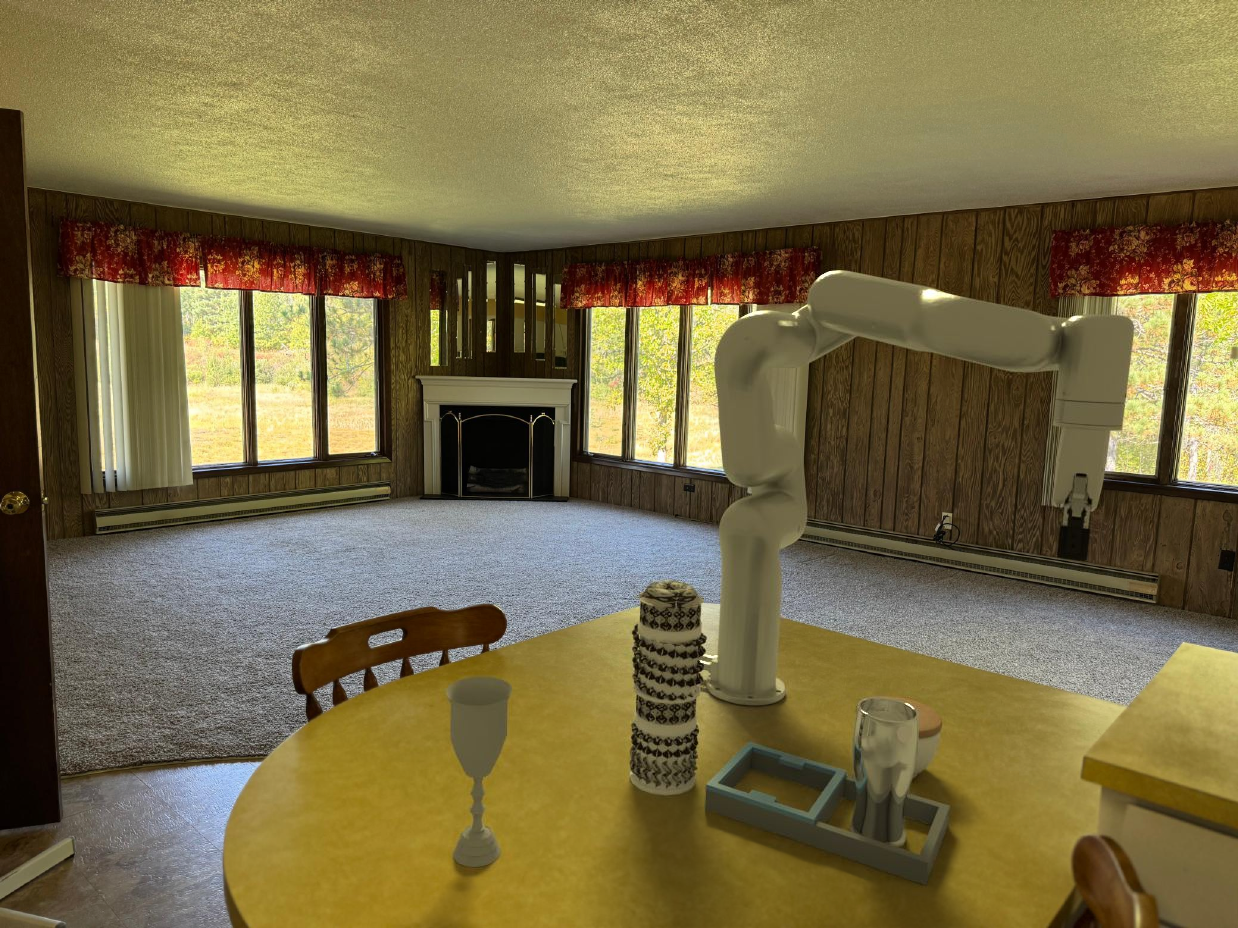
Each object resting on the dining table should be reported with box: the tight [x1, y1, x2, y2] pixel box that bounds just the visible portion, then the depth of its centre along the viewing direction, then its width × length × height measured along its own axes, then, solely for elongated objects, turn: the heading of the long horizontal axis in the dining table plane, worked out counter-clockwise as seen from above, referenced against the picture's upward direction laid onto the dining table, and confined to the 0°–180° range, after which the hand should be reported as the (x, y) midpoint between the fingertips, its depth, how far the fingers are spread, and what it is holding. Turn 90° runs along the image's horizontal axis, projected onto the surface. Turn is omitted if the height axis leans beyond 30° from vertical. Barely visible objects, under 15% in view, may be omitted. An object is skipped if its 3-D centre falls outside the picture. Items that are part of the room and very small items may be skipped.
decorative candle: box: [629, 580, 708, 796], centre depth 102 cm, size 9×9×25 cm
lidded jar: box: [855, 695, 943, 779], centre depth 108 cm, size 11×11×9 cm
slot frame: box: [704, 741, 951, 886], centre depth 96 cm, size 25×13×3 cm, turn 59°
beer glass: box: [849, 696, 919, 848], centre depth 92 cm, size 7×7×15 cm
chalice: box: [445, 676, 513, 868], centre depth 86 cm, size 7×7×18 cm
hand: (1072, 551), depth 104 cm, fingers open, 9 cm apart
